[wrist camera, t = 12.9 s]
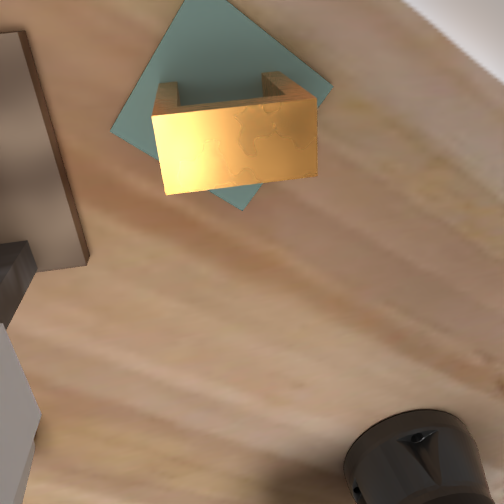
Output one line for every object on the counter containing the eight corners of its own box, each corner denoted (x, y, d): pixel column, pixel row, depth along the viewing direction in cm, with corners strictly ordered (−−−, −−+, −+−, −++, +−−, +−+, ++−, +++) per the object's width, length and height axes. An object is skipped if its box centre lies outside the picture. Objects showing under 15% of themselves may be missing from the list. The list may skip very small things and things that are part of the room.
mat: (330, 84, 32) (333, 86, 32) (241, 206, 36) (242, 211, 35) (197, -22, 28) (197, -23, 28) (111, 128, 32) (109, 131, 31)
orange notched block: (158, 83, 30) (151, 116, 22) (279, 71, 31) (316, 98, 22) (168, 143, 32) (165, 195, 24) (281, 130, 33) (317, 176, 24)
